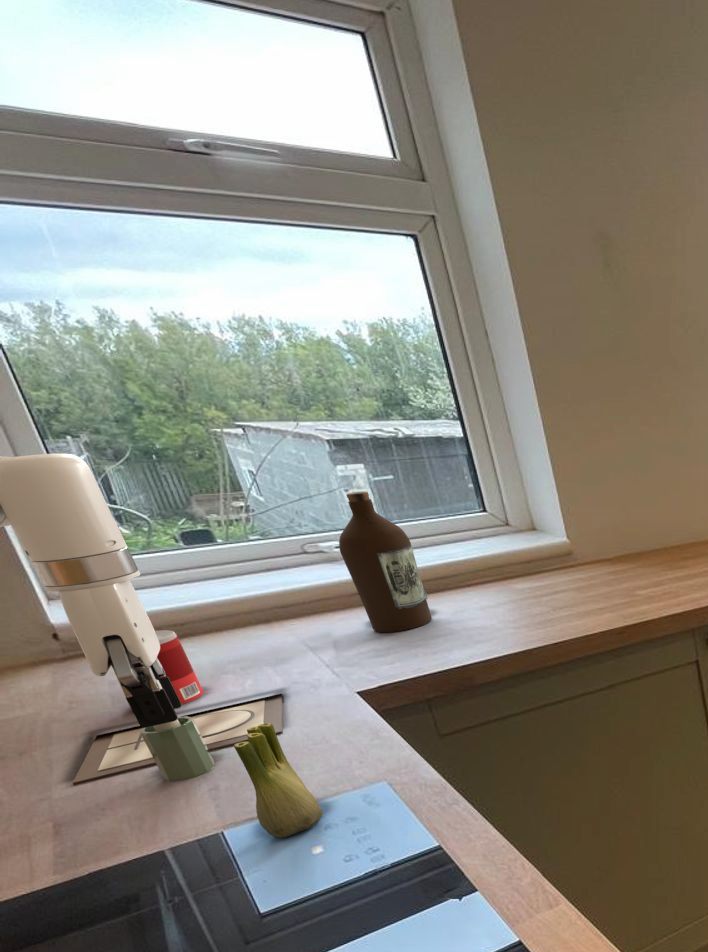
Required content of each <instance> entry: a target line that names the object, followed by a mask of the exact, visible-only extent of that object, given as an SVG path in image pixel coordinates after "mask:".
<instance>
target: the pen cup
mask: <svg viewBox="0 0 708 952" xmlns="http://www.w3.org/2000/svg"><path fill="white" fill-rule="evenodd" d="M184 716H185V715H184ZM177 719H178V721H179V723H180V725H179V726H176V727H174V728H171V729H166V730H162V731H156V730H155V728H154V727H153V726H151V727H147V728H143V729H141V731H140V733H141V735H142V737H143V739H144V741H145V743H146V745H147V747H148V749H149V751H150V753H151V754H152V756H153V758H154V760H155V762H156V764H157V765H156V766H157V768H158V771H159V772H160V774H161V776H162V777H163V779H164V781H166V782H179V781H185V780H189V779H193V778H196V777H199V776H202V775H204V774H206V773H209V772H210V771H211V770H213V769H215V767H216V763H215V761H214V758H213V757H212V754H211V751H210V752H209V750H208V748H207V746H206V744H205V742H204V740H203V738H202V736H201V734H200V732H199V730H198V728H197V726H196V724H195V722H194V720H193V718H192V717H187V716H185V717H180V716H178V718H177Z"/></svg>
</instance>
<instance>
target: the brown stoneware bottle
mask: <svg viewBox="0 0 708 952" xmlns="http://www.w3.org/2000/svg"><path fill="white" fill-rule="evenodd" d="M346 497H347V499H348V502H347V503H348V506H349V509H350V510H351V513H352V516H351V518H350V520H349V521H348V523H347V524H346V526H345V527H344V528H343V530H342V531H341V533H340V535H339V539H338V541H339V542H338V546H339V547H338V548H339V552H340V555H341V557H342V559H343V562H344V564H345V566H346V568H347V572H348V573H349V575H350V578H351V579H352V582H353V584H354V587H355V589H356V591H357V593H358V596H359V598H360V600H361V603H362V605H363V608H364V610H365V613H366V615H367V617H368V620H369V623H370V624H371V625H370V626H371V627H372V629H373V631H374V632H377V633H393V632H394V633H396V632H404V631H407V630H412V629H415V628H419V627H422V626H424V625H426V624H428V623H430V622H431V621H432V620H433V619H432V618H433V617H432V613H431V610H430V608H429V607H430V606H429V604H428V601H427V600H428V598H429V597H428V594H427V591H426V590H425V589H424V587H423V583H422V579H421V576H420V573H419V568H418V565H417V564H418V563H417V561H416V557H415V554H414V549H413V547H412V543H411V540H410V538H409V536H408V534H407V533H406V532H405V530H404V529H402V528H401V527H400V526H398V524H396V523H394V522H392V521H390V520H388V519H387V518H385V517H384V516H382V515H381V514H379V513H378V512H376V510H375V507H374V504H373V501H372V499H371V498H370V494H369V492H368V491H365V490H364V491H353V492H349V493H346Z"/></svg>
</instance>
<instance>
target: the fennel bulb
mask: <svg viewBox="0 0 708 952" xmlns="http://www.w3.org/2000/svg"><path fill="white" fill-rule="evenodd" d="M247 732H248V735H247V737H248V740H249V742H241V743H237V744H235V745H234V746H233V748H234V750H235V751H236V753H237V755H238V757H239V759H240V760H241V763H242V764H243V766H244V768H245V770H246V772H247V775H248V776H249V779H250V781H251V782H252V785H253V787H254V791H255V798H256V799H255V811H256V816H257V820H258V822H259V824H260V826H261V827H262V829H263V830H265V832H267V833H268V834H269V836H272V837H275V838H285V837H290V836H293V835H295V834H298V833H301V832H303V831H305V830H308V829H310V828H313V827H315V826H316V825H317V824H318V823H319V822H320V820H321V818H322V817H323V809H322V808H321V807H320V803H319V802H318V800H317V798H316V796H314V795H313V793H312V792H311V791H309V789H308V788H307V787H306V785H305V783H304V782H303V780H302V779H301V778H300V777H301V776H299V775H298V773H297V772H296V771H295V769H294V768H293V766H292V765H291V764H290V762H289V761H288V759H287V757H286V755H285V754H284V751H283V748H282V746H281V742H280V741H279V737H278V735H276V733H275V730H274V727H273V725H272V724H271V723H265V724H260V725H258V726H257V727H252V728H249V729H247ZM300 831H301V832H300Z"/></svg>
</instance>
